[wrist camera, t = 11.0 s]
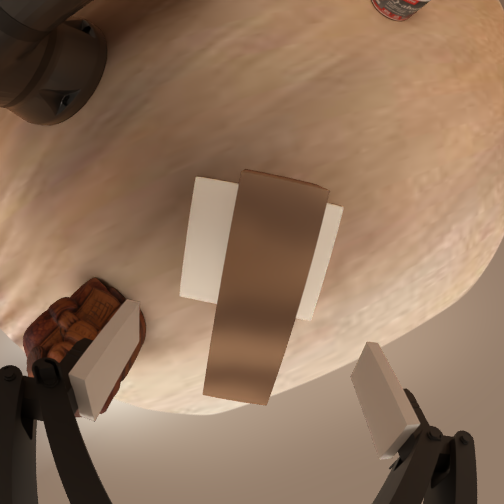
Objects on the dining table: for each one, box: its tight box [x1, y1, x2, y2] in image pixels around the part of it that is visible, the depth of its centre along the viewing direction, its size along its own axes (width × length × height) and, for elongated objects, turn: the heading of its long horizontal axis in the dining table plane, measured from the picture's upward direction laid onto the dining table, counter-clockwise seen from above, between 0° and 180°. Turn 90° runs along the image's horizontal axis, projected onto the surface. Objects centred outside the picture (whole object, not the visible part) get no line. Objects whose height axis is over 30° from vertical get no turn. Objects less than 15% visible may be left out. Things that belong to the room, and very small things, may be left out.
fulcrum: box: [179, 176, 344, 321], centre depth 29 cm, size 14×16×9 cm
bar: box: [203, 169, 330, 405], centre depth 23 cm, size 18×6×5 cm, turn 169°
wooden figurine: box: [23, 278, 146, 417], centre depth 28 cm, size 12×6×18 cm, turn 51°
